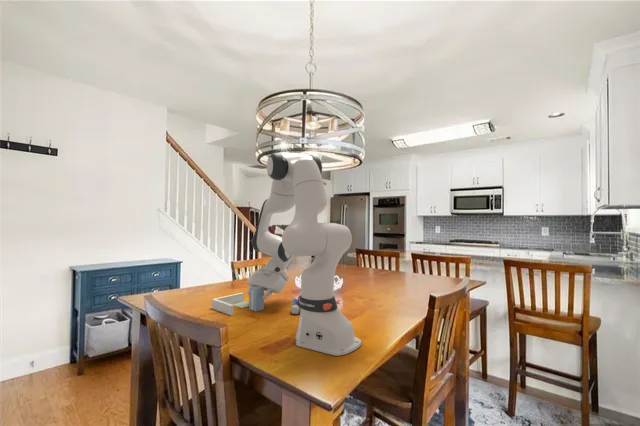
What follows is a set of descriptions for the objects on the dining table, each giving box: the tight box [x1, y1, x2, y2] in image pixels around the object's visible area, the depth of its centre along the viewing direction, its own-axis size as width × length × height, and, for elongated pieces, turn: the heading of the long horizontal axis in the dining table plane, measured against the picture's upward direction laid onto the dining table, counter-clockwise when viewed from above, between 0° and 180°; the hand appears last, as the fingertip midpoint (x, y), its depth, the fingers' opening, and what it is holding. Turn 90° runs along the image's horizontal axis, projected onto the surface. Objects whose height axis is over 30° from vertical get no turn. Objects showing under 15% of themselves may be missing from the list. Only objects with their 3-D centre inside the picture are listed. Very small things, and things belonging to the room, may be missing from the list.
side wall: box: [213, 298, 235, 316], centre depth 135 cm, size 13×1×4 cm, turn 50°
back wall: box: [211, 292, 245, 310], centre depth 145 cm, size 1×16×4 cm, turn 140°
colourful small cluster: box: [289, 295, 300, 315], centre depth 135 cm, size 8×10×7 cm
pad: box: [232, 300, 249, 309], centre depth 145 cm, size 7×7×1 cm
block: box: [248, 286, 265, 312], centre depth 139 cm, size 4×5×10 cm
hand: (255, 297), depth 139 cm, fingers open, 8 cm apart
